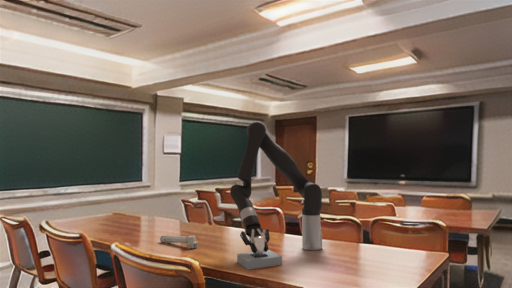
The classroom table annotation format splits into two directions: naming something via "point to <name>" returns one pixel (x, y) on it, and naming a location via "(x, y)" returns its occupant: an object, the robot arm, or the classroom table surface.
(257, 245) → the steel bushing
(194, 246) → the grey elongated piece
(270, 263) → the jig plate
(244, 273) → the classroom table surface
